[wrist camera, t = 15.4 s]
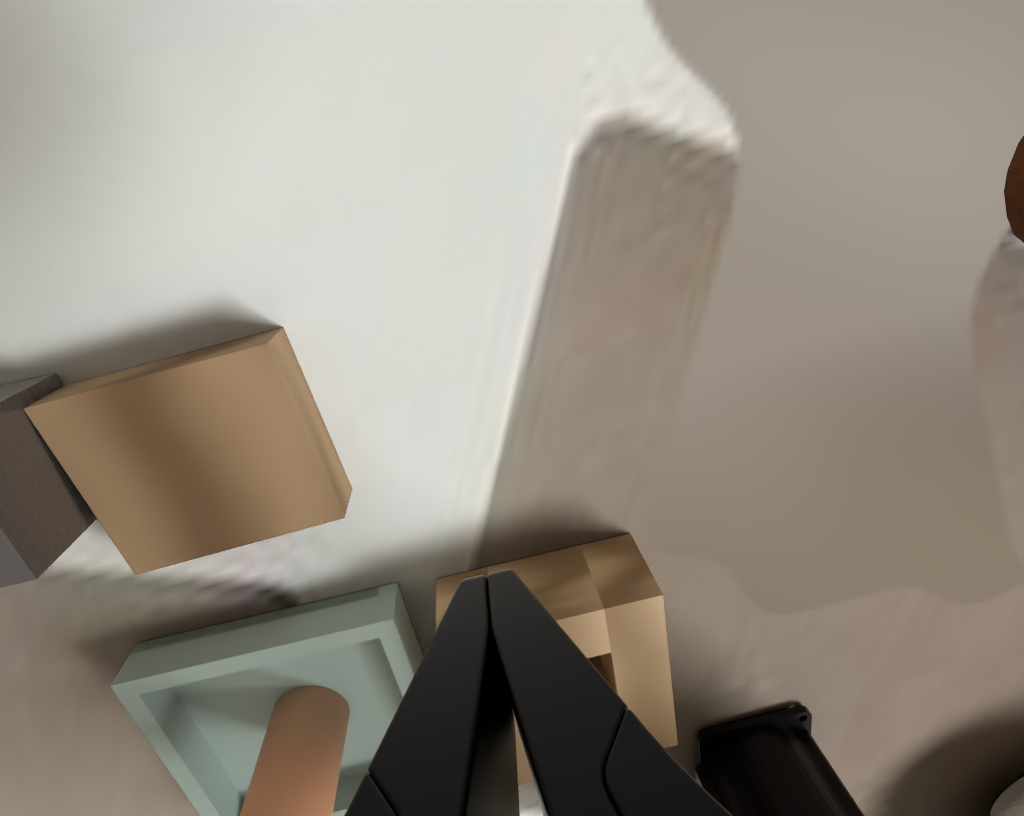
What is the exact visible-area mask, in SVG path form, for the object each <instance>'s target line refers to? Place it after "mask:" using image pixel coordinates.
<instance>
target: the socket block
mask: <svg viewBox="0 0 1024 816" xmlns="http://www.w3.org/2000/svg"><path fill="white" fill-rule="evenodd" d="M505 569H512V570H513V571H514V572H515V573H516V574H517V575H518V576H519V578H520V579H521V580H522V581H523V582H524V584H525V585H526V586H527V587H528V588H529V590H530V591H531V592H532V593H533V594H534V595H535V597H536V598H537V599H538V600H539V601H540V603H541V604H542V605H543V606H544V607H545V609H546V610H547V611H548V612H549V613H550V615H551V616H552V617H553V618H554V619H555V620H556V622H557V623H558V624H559V625H560V626H561V628H562V629H563V630H564V631H565V632H566V634H567V635H568V636H569V637H570V638H571V640H572V641H573V642H574V643H575V644H576V645H577V647H578V648H579V649H580V650H581V651H582V653H583V654H584V655H585V656H586V657H587V659H588V660H589V661H590V662H591V663H592V664H593V666H594V667H595V668H596V669H597V670H598V672H599V673H600V674H601V675H602V676H603V678H604V679H605V680H606V681H607V682H608V684H609V685H610V686H611V687H612V688H613V689H614V691H615V692H616V693H617V694H618V695H619V697H620V698H621V699H622V700H623V701H624V703H625V704H626V705H627V707H628V710H631V711H632V712H633V713H634V714H635V715H636V716H637V718H638V719H639V720H640V721H641V722H642V724H643V725H644V726H645V727H646V728H647V729H648V731H649V732H650V733H651V734H652V735H653V736H654V737H655V738H656V740H657V741H658V742H659V743H660V744H661V745H662V746H663V747H664V748H668V747H672V746H676V745H678V741H677V731H676V721H675V711H674V701H673V691H672V681H671V671H670V661H669V651H668V641H667V631H666V621H665V611H664V601H663V594H662V592H661V590H660V589H659V587H658V585H657V583H656V581H655V579H654V577H653V575H652V573H651V572H650V570H649V568H648V566H647V564H646V562H645V560H644V558H643V556H642V555H641V553H640V551H639V549H638V547H637V545H636V543H635V541H634V539H633V538H632V536H631V534H626V535H622V536H617V537H613V538H609V539H605V540H600V541H596V542H592V543H588V544H583V545H579V546H575V547H570V548H566V549H562V550H558V551H553V552H549V553H545V554H541V555H536V556H532V557H528V558H524V559H519V560H515V561H511V562H506V563H502V564H498V565H494V566H489V567H485V568H481V569H477V570H472V571H468V572H464V573H460V574H455V575H451V576H447V577H442V578H438V579H436V630H437V628H438V626H439V624H440V622H441V619H442V617H443V615H444V613H445V611H446V609H447V607H448V605H449V603H450V601H451V599H452V597H453V595H454V593H455V591H456V589H457V587H458V585H459V583H460V582H461V581H462V580H463V579H467V578H471V577H475V576H479V575H485V576H486V577H488V575H489V574H490V573H492V572H496V571H501V570H505ZM514 721H515V734H516V753H517V774H518V785H520V784H524V783H528V782H532V781H533V778H532V774H531V771H530V768H529V764H528V761H527V757H526V754H525V750H524V747H523V744H522V740H521V737H520V733H519V730H518V726H517V722H516V719H515V715H514Z"/></svg>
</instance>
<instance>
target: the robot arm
mask: <svg viewBox="0 0 1024 816" xmlns="http://www.w3.org/2000/svg"><path fill="white" fill-rule="evenodd" d="M514 715H515V719H516V722H517V726H518V730H519V733H520V737H521V740H522V744H523V747H524V750H525V754H526V757H527V761H528V764H529V768H530V771H531V774H532V778H533V781H534V785H535V788H536V792H537V795H538V798H539V802H540V805H541V809H542V812H543V816H864V815H863V813H862V812H861V810H860V809H859V807H858V806H857V804H856V803H855V801H854V800H853V798H852V797H851V795H850V794H849V792H848V791H847V789H846V788H845V786H844V785H843V783H842V782H841V780H840V779H839V777H838V776H837V774H836V772H835V771H834V769H833V768H832V766H831V765H830V763H829V762H828V760H827V759H826V757H825V756H824V754H823V753H822V751H821V750H820V748H819V747H818V745H817V744H816V742H815V741H814V739H813V738H812V736H811V721H812V715H811V713H810V712H809V710H808V709H807V708H806V707H805V706H797V707H793V708H789V709H785V710H781V711H777V712H773V713H769V714H765V715H761V716H757V717H753V718H749V719H745V720H741V721H737V722H733V723H729V724H725V725H721V726H717V727H713V728H709V729H705V730H702V731H700V732H699V733H698V734H697V750H698V763H696V766H695V768H694V769H695V779H694V778H693V777H692V776H691V775H690V774H689V773H687V772H686V771H685V770H684V769H683V768H682V767H681V766H680V765H679V764H678V763H677V762H676V761H675V760H674V758H673V757H672V756H671V755H670V754H669V753H668V752H667V751H666V750H665V748H664V747H663V746H662V745H661V744H660V743H659V742H658V741H657V740H656V738H655V737H654V736H653V735H652V734H651V733H650V732H649V731H648V729H647V728H646V727H645V726H644V725H643V724H642V722H641V721H640V720H639V719H638V718H637V716H636V715H635V714H634V713H633V712H632V711H631V710H628V707H627V705H626V704H625V703H624V701H623V700H622V699H621V698H620V697H619V695H618V694H617V693H616V692H615V691H614V689H613V688H612V687H611V686H610V685H609V684H608V682H607V681H606V680H605V679H604V678H603V676H602V675H601V674H600V673H599V672H598V670H597V669H596V668H595V667H594V666H593V664H592V663H591V662H590V661H589V660H588V659H587V657H586V656H585V655H584V654H583V653H582V651H581V650H580V649H579V648H578V647H577V645H576V644H575V643H574V642H573V641H572V640H571V638H570V637H569V636H568V635H567V634H566V632H565V631H564V630H563V629H562V628H561V626H560V625H559V624H558V623H557V622H556V620H555V619H554V618H553V617H552V616H551V615H550V613H549V612H548V611H547V610H546V609H545V607H544V606H543V605H542V604H541V603H540V601H539V600H538V599H537V598H536V597H535V595H534V594H533V593H532V592H531V591H530V590H529V588H528V587H527V586H526V585H525V584H524V582H523V581H522V580H521V579H520V578H519V576H518V575H517V574H516V573H515V572H514V571H513V570H512V569H505V570H501V571H496V572H492V573H490V574H489V575H488V577H486V576H485V575H479V576H475V577H471V578H467V579H463V580H462V581H461V582H460V583H459V585H458V587H457V589H456V591H455V593H454V595H453V597H452V599H451V601H450V603H449V605H448V607H447V609H446V611H445V613H444V615H443V617H442V619H441V622H440V624H439V626H438V628H437V630H436V632H435V634H434V636H433V638H432V640H431V642H430V644H429V646H428V648H427V650H426V652H425V654H424V656H423V658H422V660H421V662H420V664H419V666H418V668H417V670H416V672H415V674H414V676H413V678H412V680H411V682H410V684H409V686H408V688H407V690H406V693H405V695H404V697H403V699H402V701H401V703H400V705H399V707H398V709H397V711H396V713H395V715H394V717H393V719H392V721H391V723H390V725H389V727H388V729H387V731H386V733H385V735H384V737H383V739H382V741H381V743H380V745H379V747H378V749H377V751H376V753H375V755H374V757H373V759H372V761H371V763H370V766H369V768H368V773H369V774H365V775H364V777H363V779H362V781H361V783H360V785H359V787H358V789H357V791H356V793H355V795H354V797H353V799H352V801H351V803H350V805H349V807H348V809H347V811H346V813H345V815H344V816H520V815H519V794H518V774H517V753H516V734H515V721H514Z"/></svg>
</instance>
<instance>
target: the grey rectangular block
mask: <svg viewBox="0 0 1024 816" xmlns="http://www.w3.org/2000/svg"><path fill="white" fill-rule="evenodd" d="M62 386H63V385H62V384H61V382H60V380H59V378H58V377H57V375H56V373H55V374H50V375H45V376H41V377H36V378H32V379H27V380H22V381H18V382H13V383H8V384H4V385H0V588H1V587H5V586H9V585H14V584H18V583H23V582H27V581H31V580H36V579H37V578H38V577H39V576H40V575H41V574H42V573H43V572H44V571H45V570H46V569H47V568H48V567H49V566H50V565H51V564H52V563H53V562H54V561H55V560H56V559H57V558H58V557H59V556H60V555H61V554H62V553H63V552H64V551H65V550H66V549H67V548H68V547H69V546H70V545H71V544H72V543H73V542H74V541H75V540H76V539H77V538H78V537H79V536H80V535H81V534H82V533H83V532H84V531H85V530H86V529H87V528H88V527H89V526H90V525H91V524H92V523H93V522H94V521H95V520H96V519H97V517H96V516H95V514H94V513H93V511H92V510H91V508H90V507H89V505H88V504H87V502H86V501H85V500H84V498H83V497H82V495H81V494H80V492H79V491H78V489H77V488H76V486H75V485H74V483H73V482H72V480H71V479H70V477H69V476H68V474H67V473H66V471H65V470H64V468H63V467H62V465H61V464H60V462H59V461H58V459H57V458H56V457H55V455H54V454H53V452H52V451H51V449H50V448H49V446H48V445H47V443H46V442H45V440H44V439H43V437H42V436H41V434H40V433H39V431H38V430H37V428H36V427H35V425H34V424H33V422H32V421H31V419H30V418H29V416H28V415H27V413H26V412H25V411H24V408H25V407H27V406H29V405H31V404H32V403H34V402H36V401H38V400H39V399H41V398H43V397H45V396H47V395H48V394H50V393H52V392H54V391H55V390H57V389H59V388H61V387H62Z"/></svg>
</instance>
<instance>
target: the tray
mask: <svg viewBox="0 0 1024 816" xmlns="http://www.w3.org/2000/svg"><path fill="white" fill-rule="evenodd" d="M422 658H423V654H422V651H421V648H420V646H419V643H418V640H417V637H416V634H415V632H414V629H413V626H412V623H411V620H410V617H409V615H408V612H407V609H406V606H405V603H404V600H403V598H402V595H401V592H400V589H399V586H398V584H397V583H393V584H389V585H385V586H380V587H376V588H372V589H368V590H363V591H359V592H355V593H350V594H346V595H342V596H338V597H333V598H329V599H325V600H321V601H316V602H312V603H308V604H303V605H299V606H295V607H291V608H286V609H282V610H278V611H274V612H269V613H265V614H261V615H256V616H252V617H248V618H244V619H239V620H235V621H231V622H227V623H222V624H218V625H214V626H209V627H205V628H201V629H197V630H192V631H188V632H184V633H180V634H175V635H171V636H167V637H162V638H158V639H154V640H150V641H145V642H141V643H137V644H136V646H135V647H134V649H133V651H132V652H131V654H130V655H129V657H128V658H127V660H126V661H125V663H124V665H123V666H122V668H121V669H120V671H119V672H118V674H117V675H116V677H115V678H114V680H113V682H112V683H111V685H110V687H111V689H112V690H113V692H114V693H115V695H116V696H117V697H118V699H119V700H120V702H121V703H122V705H123V706H124V707H125V709H126V710H127V712H128V713H129V715H130V716H131V717H132V719H133V720H134V722H135V723H136V725H137V726H138V727H139V729H140V730H141V732H142V733H143V735H144V736H145V737H146V739H147V740H148V742H149V743H150V745H151V746H152V747H153V749H154V750H155V752H156V753H157V755H158V756H159V757H160V759H161V760H162V762H163V763H164V765H165V766H166V767H167V769H168V770H169V772H170V773H171V775H172V776H173V777H174V779H175V780H176V782H177V783H178V785H179V786H180V787H181V789H182V790H183V792H184V793H185V795H186V796H187V797H188V799H189V800H190V802H191V803H192V805H193V806H194V807H195V809H196V810H197V812H198V813H199V815H200V816H240V813H241V810H242V807H243V804H244V800H245V797H246V794H247V791H248V788H249V785H250V781H251V778H252V775H253V772H254V769H255V765H256V762H257V759H258V756H259V753H260V749H261V746H262V743H263V740H264V737H265V734H266V730H267V727H268V724H269V721H270V718H271V714H272V711H273V708H274V705H275V703H276V701H277V700H278V699H279V698H280V697H281V696H282V695H283V694H284V693H286V692H288V691H290V690H292V689H295V688H298V687H303V686H320V687H325V688H329V689H331V690H334V691H336V692H337V693H339V694H340V695H341V696H343V697H344V698H345V700H346V701H347V703H348V705H349V708H350V715H349V721H348V727H347V733H346V739H345V744H344V750H343V756H342V762H341V768H340V774H339V780H338V786H337V791H336V797H335V803H334V809H333V815H332V816H344V815H345V813H346V811H347V809H348V807H349V805H350V803H351V801H352V799H353V797H354V795H355V793H356V791H357V789H358V787H359V785H360V783H361V781H362V779H363V777H364V775H365V774H369V773H368V768H369V766H370V763H371V761H372V759H373V757H374V755H375V753H376V751H377V749H378V747H379V745H380V743H381V741H382V739H383V737H384V735H385V733H386V731H387V729H388V727H389V725H390V723H391V721H392V719H393V717H394V715H395V713H396V711H397V709H398V707H399V705H400V703H401V701H402V699H403V697H404V695H405V693H406V690H407V688H408V686H409V684H410V682H411V680H412V678H413V676H414V674H415V672H416V670H417V668H418V666H419V664H420V662H421V660H422Z"/></svg>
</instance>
